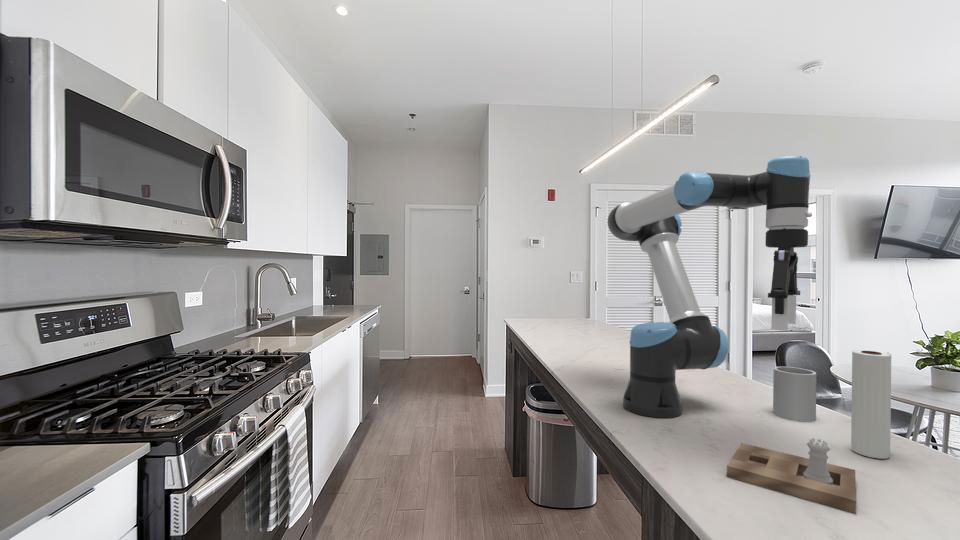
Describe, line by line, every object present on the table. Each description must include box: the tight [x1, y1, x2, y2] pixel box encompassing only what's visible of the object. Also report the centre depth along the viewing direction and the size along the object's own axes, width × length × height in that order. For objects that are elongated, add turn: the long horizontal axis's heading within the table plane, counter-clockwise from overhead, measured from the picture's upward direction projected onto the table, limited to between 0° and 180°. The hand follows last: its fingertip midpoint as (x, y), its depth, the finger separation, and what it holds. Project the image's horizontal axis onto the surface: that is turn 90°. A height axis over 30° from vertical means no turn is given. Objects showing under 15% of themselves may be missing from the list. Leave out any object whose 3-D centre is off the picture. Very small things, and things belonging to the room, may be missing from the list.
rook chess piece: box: [802, 437, 834, 485], centre depth 76 cm, size 4×4×8 cm
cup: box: [772, 366, 817, 423], centre depth 113 cm, size 9×9×12 cm
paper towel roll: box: [850, 350, 892, 460], centre depth 90 cm, size 7×6×21 cm
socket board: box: [726, 442, 857, 514], centre depth 79 cm, size 18×14×2 cm
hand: (784, 326), depth 93 cm, fingers open, 13 cm apart
